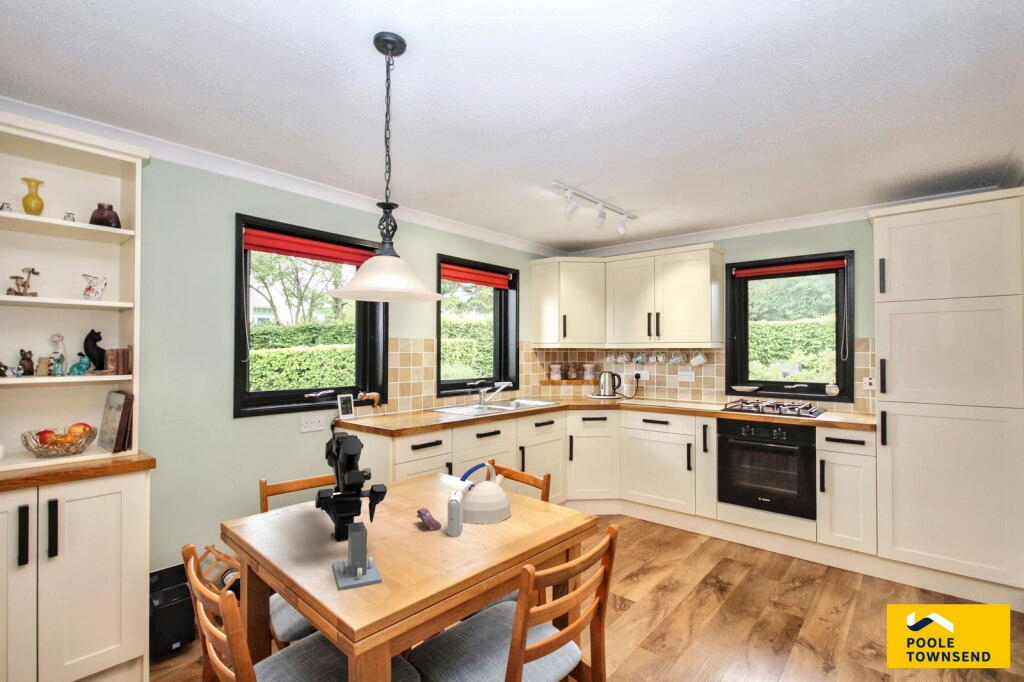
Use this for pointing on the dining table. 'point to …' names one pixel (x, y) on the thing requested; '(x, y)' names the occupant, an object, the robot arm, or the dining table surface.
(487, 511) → the kettle
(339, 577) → the grey peg board
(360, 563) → the block
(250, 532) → the dining table surface
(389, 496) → the dining table surface
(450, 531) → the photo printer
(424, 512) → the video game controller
